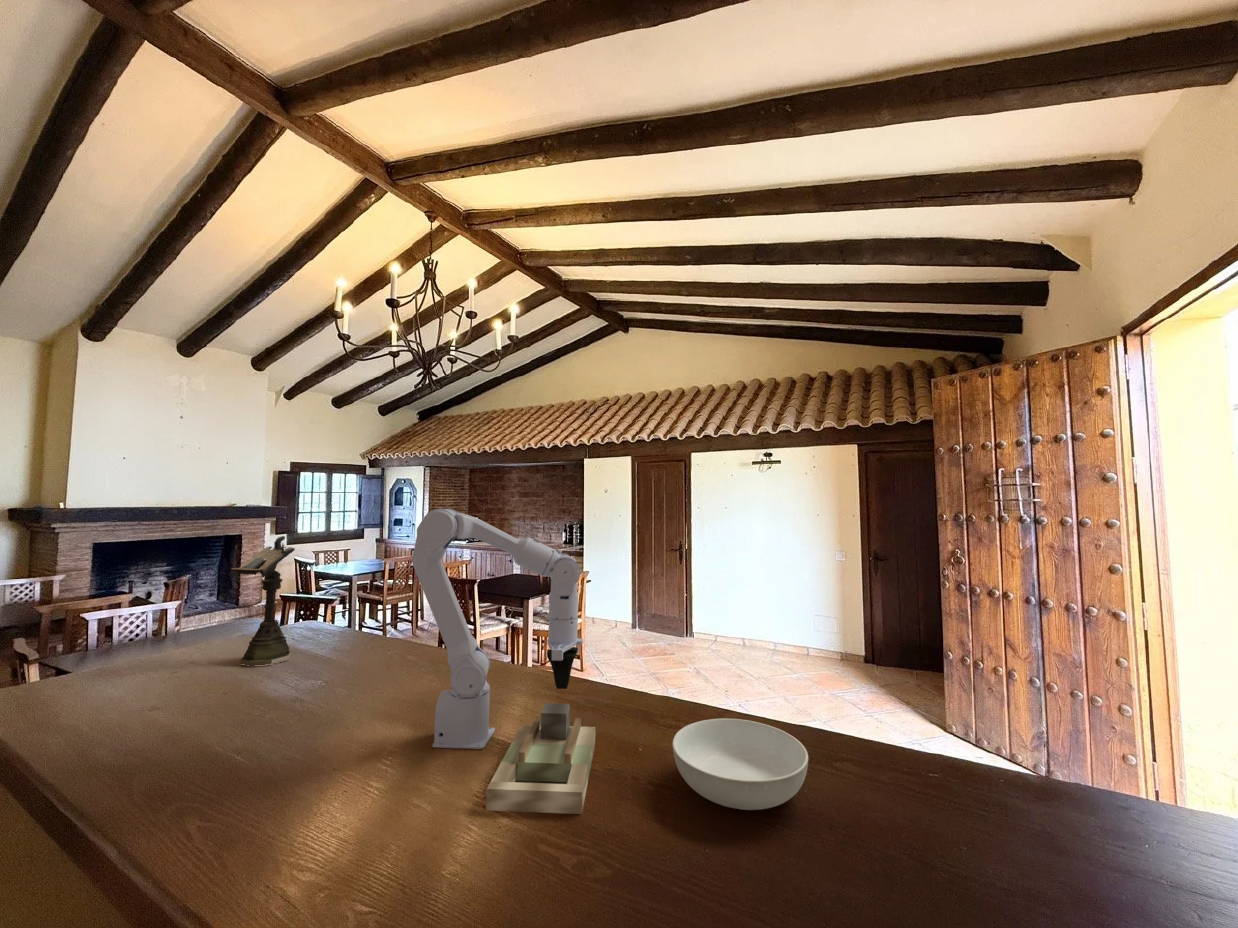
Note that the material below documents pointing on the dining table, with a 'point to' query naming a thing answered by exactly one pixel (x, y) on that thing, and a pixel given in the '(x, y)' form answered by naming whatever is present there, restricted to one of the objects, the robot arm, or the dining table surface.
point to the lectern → (267, 607)
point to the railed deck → (543, 772)
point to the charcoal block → (555, 721)
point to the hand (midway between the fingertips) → (562, 687)
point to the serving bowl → (740, 762)
